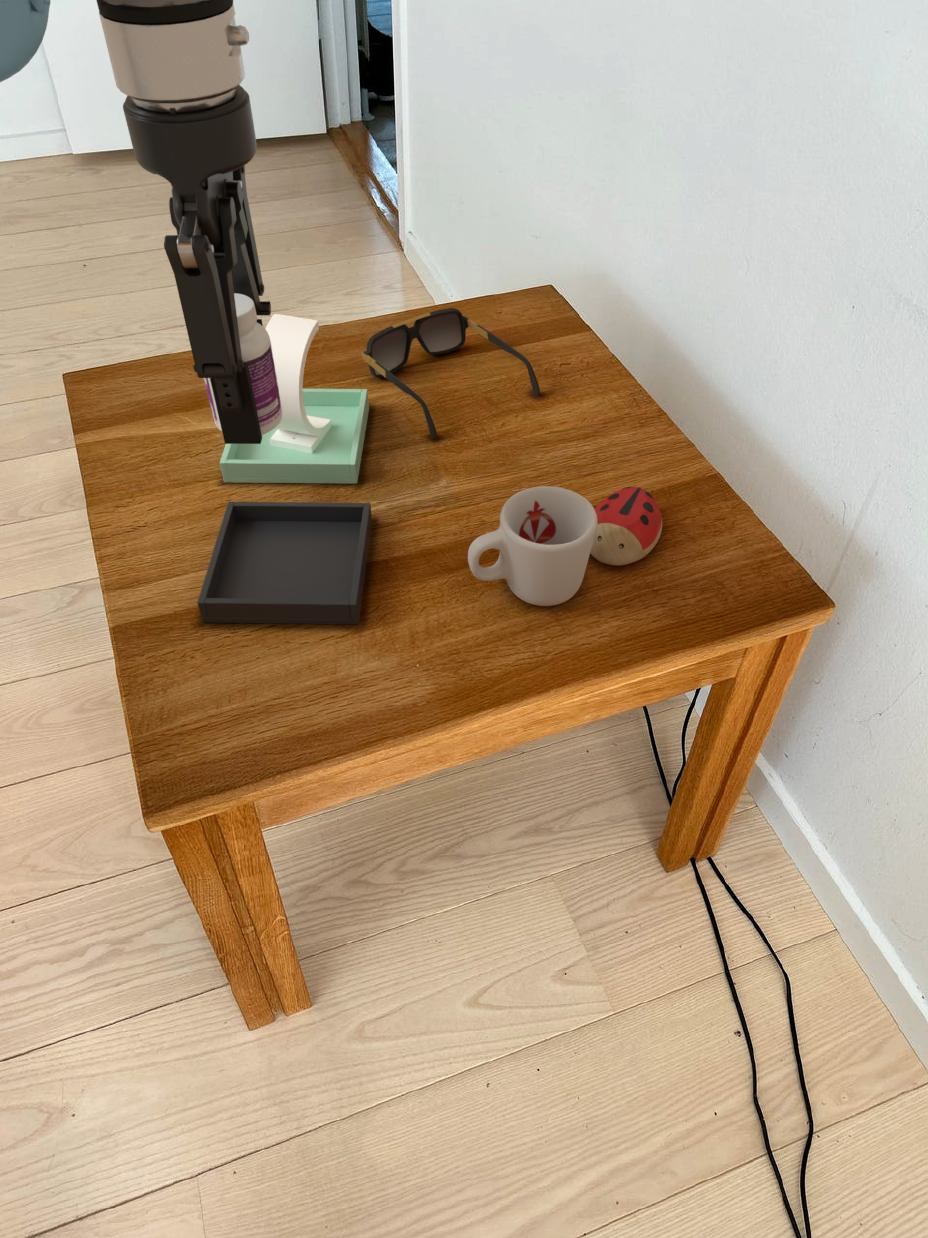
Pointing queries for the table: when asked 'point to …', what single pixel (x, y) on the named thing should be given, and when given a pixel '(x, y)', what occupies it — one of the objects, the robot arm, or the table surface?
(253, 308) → the pill bottle
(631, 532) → the ladybug figurine
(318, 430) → the headphone stand
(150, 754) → the table surface
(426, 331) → the sunglasses
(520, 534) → the cup
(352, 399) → the mint tray
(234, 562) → the charcoal tray
